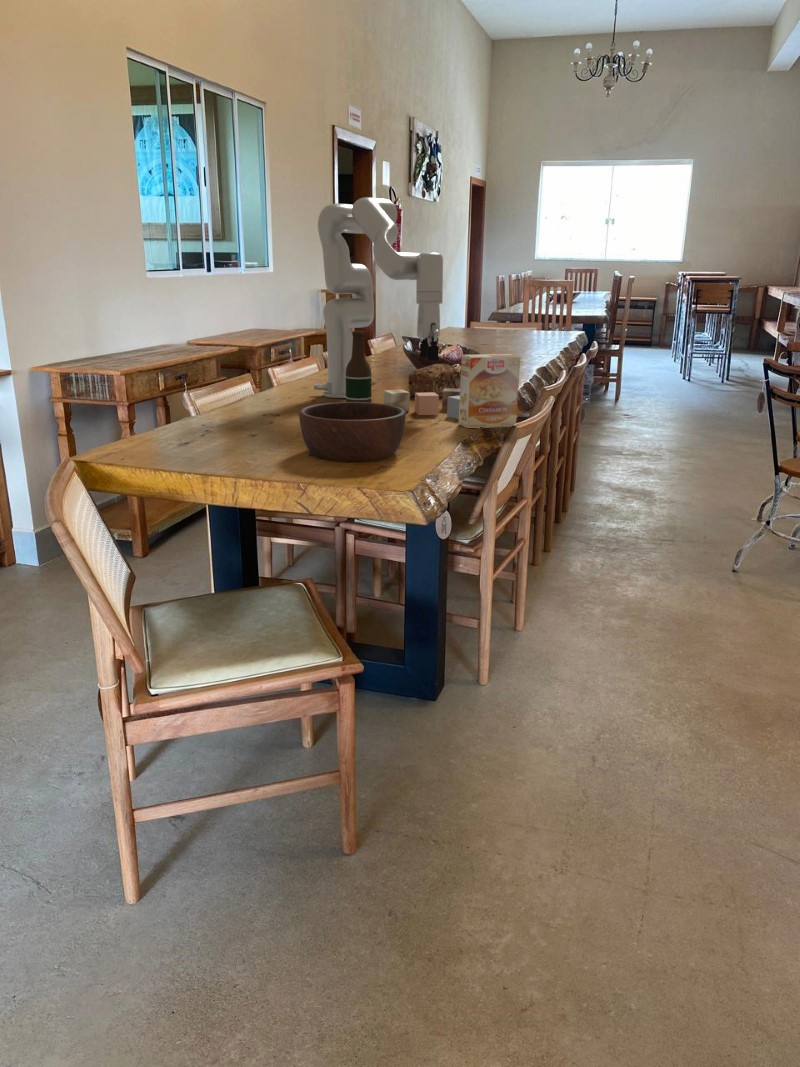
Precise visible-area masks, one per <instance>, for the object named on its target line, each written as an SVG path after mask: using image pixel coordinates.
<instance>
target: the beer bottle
mask: <svg viewBox="0 0 800 1067" xmlns="http://www.w3.org/2000/svg"><path fill="white" fill-rule="evenodd" d="M351 332H352V335H353V345H352V357H351V360H350V361H349V363H348V365H347V368H346V398H345V402H369V403H372V369H371V366H370V364H369V362H368V361H367V359H366V351H365V338H364V337H365V335H366V334H365V331H363V330H353V331H351Z"/></svg>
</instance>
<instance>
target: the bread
mask: <svg viewBox="0 0 800 1067" xmlns="http://www.w3.org/2000/svg"><path fill="white" fill-rule="evenodd" d="M460 381H461V372H460V371H459V370H458V368H457V369H456V367H454V366H452V365H450V364H448V363H436V364H434V363H433V364H432V365H427V366H424V367H421V368H419V369H415V370H413V371H412V372H410V374H409V376H408V383H407V384H408V392H410V397H414V396H415V393H428V392H434V393H436V394H437V395H439V398H442V397H441V396H442V391H443V390H444V388H452V389H460Z"/></svg>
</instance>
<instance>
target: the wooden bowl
mask: <svg viewBox="0 0 800 1067" xmlns="http://www.w3.org/2000/svg"><path fill="white" fill-rule="evenodd" d="M406 414H407V412H405V411H404V410H403V409H402V408H399V407H396V406H393V405H387V404H384V403H381V402H380V403H378V402H371V403H369V402H346V401H340V402H339V401H336V402H326V403H325V402H324V403H319V404H318V403H316V404H311V405H308V406H304V407H303V408H301V409H300V410H299V412H298V417H299V424H300V430H301V434H302V439H303V442H304V444H305V446H306V448H307V450H308V451H309V452H310V454H312V456H314V457H315V456H316V458H318V459H321V460H326V461H330V462H331V461H332V462H340V463H341V462H344V463H360V462H363V463H365V462H374V461H379V460H385V459H388V458H389V457H392V456H393V455H394V454H395V452H396V451H397V450H398V448H399V446H400V444H401V442H402V439H403V435H404V430H405V424H406V416H407V415H406Z"/></svg>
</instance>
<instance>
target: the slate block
mask: <svg viewBox="0 0 800 1067" xmlns="http://www.w3.org/2000/svg"><path fill="white" fill-rule="evenodd" d="M459 405H460V396H451V397H448V401H447V411H446V417H447V416H448V417H447V418H450V417H452V418H451V419H454V418H456V419H455V420H458V419H459Z"/></svg>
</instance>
